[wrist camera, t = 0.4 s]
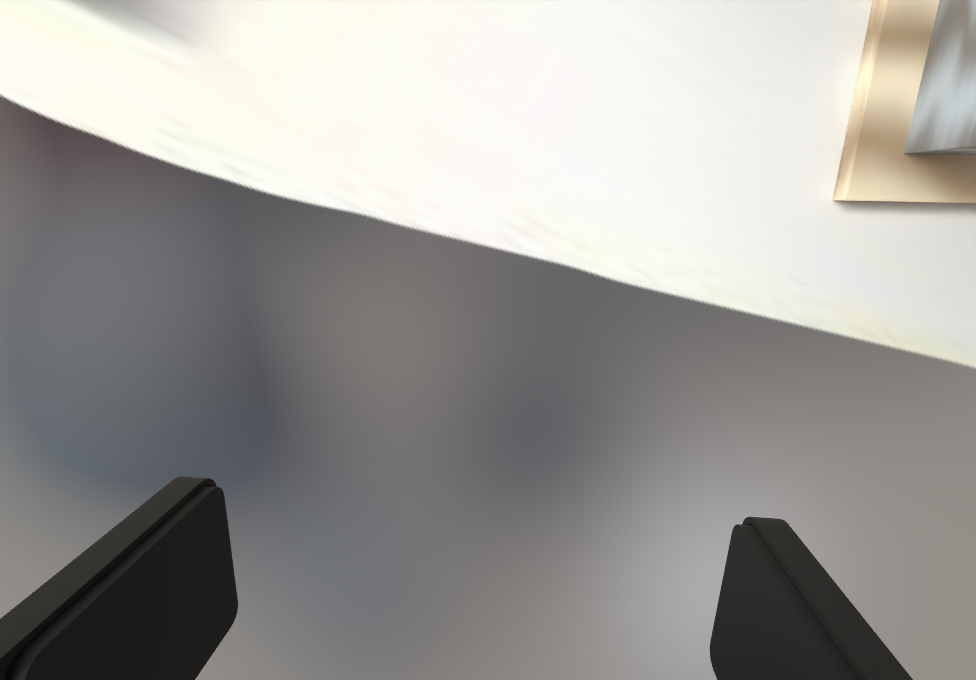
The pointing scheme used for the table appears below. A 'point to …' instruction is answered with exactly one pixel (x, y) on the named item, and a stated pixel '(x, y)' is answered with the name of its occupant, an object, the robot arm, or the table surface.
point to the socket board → (914, 106)
